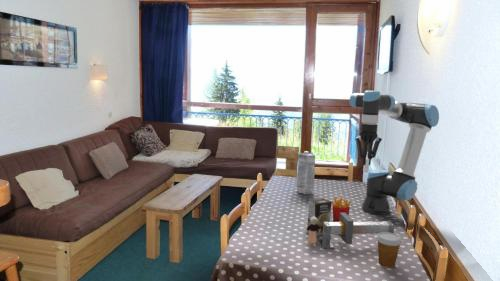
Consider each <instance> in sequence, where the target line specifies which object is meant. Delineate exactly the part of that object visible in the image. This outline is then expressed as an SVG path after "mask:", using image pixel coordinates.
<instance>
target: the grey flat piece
mask: <svg viewBox="0 0 500 281" xmlns="http://www.w3.org/2000/svg"><path fill="white" fill-rule="evenodd" d="M339 222H344V223H345V224H346V226H345V235H341V234H337V235H338V237H339V238H341V239H342V241H343V242H344V243H345V244H346V245H353V235H354V234H353V223H354V222H355V221H354V219H352V218H351V216H350V215H347V214H346V213H340V218H339Z"/></svg>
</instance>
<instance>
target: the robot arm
mask: <svg viewBox="0 0 500 281" xmlns="http://www.w3.org/2000/svg"><path fill="white" fill-rule="evenodd" d="M349 105H350V106H351V107H352V108H356V109H362V112H361V125H360V133H359V135H358V136H357V137H354V140H355V142H356V147H357V154H358V157H360V159H362V160H361V165H362V166H363V168H362V171H363V172H364V173H367V178H366V179H367V180H366V191H365V192H366V193H365V197H364V199H363V202H362V204H361V210H362V211H364V212H366V213H370V214H375V215H386V214H389V213H390V209H391V207H390V203H389V200H388V197H391V198H394V199H398V200H402V201H410V200H411V199H413V197H414V196H415V195H416V193H417V190H418V182H417V181H416V176H415V171H416V168H417V164H418V162H419V158H420V155H421V152H422V148H423V145H424V143H425V140H426V137H427V133H430V131H432V128H435V127H437V125H438V123H439V119H440V114H439V110H438V107H437V106H436V105H434V104H428V103H415V102H414V103H413V102H398V101H396V99H395V97H394V96H393V95H390V94H381V92H380V91H379V90H365V91H364V92H363V93H361V92H360V93H359V92H354V93H352V94H351V95H350V97H349ZM379 114H382V115H385V116H387V117H388V118H390V119H393V120H395V121H399V122H400V123H404V124H408V127H409V131H408V132H409V133H407V137H406V141H405V144H404V148H403V150H402V154H401V157H400V159H399V162H398V166H397V169H395V170H393V171H392V174H391V171H390V170H387V169H373V170H370V171H369V166H371V161H372V159H373V158H375V157H376V155H377V152H378V149H379V147H380V143H381V142H382V140H383V139H382V138H381V137H379V136H378V127H379V126H378V123H379ZM361 141H362V142H361Z"/></svg>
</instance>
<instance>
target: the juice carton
mask: <svg viewBox="0 0 500 281" xmlns="http://www.w3.org/2000/svg"><path fill="white" fill-rule="evenodd" d="M315 165H316V156H315V154H314V153H313V152H309V151H307V150H304V152H299V153H298V155H297V167H296V168H297V169H296V170H297V171H296V190H297V193H298V194H299V193H305V194H304V195H312V194H313V191H314V184H315V170H316V167H315Z"/></svg>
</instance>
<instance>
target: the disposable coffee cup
mask: <svg viewBox="0 0 500 281" xmlns="http://www.w3.org/2000/svg"><path fill="white" fill-rule="evenodd" d="M401 237H402V236H400V235H399V234H397V233H395V232H394V233H390V232H381V233H379V234H377V235H376V240H377V255H378V256H377V258H378V265H379V266H381V267H383V268H387V269H391V268H392V269H393V268H395V267H396V263H397V259H398V254H399V250H400V246H401V244H402V239H401Z"/></svg>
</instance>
